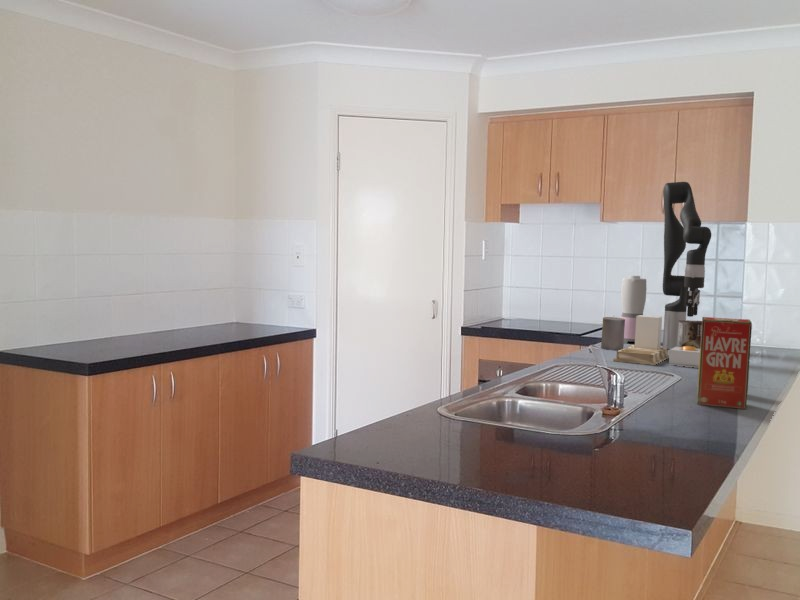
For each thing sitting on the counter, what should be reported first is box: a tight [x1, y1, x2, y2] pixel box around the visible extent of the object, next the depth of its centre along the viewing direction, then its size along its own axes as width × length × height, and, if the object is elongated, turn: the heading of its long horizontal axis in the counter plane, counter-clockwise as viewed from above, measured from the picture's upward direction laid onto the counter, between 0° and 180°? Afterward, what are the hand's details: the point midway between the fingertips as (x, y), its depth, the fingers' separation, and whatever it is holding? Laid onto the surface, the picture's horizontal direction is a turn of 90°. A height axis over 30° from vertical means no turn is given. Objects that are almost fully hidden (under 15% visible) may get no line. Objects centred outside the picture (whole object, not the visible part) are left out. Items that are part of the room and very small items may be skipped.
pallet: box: [613, 344, 669, 366], centre depth 306 cm, size 27×16×4 cm, turn 149°
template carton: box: [634, 314, 663, 350], centre depth 311 cm, size 6×9×16 cm, turn 59°
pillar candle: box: [600, 316, 625, 351], centre depth 335 cm, size 10×10×15 cm
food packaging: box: [696, 316, 753, 410], centre depth 219 cm, size 13×9×25 cm
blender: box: [620, 274, 647, 344], centre depth 361 cm, size 16×12×32 cm
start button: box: [682, 346, 696, 351], centre depth 294 cm, size 5×5×5 cm
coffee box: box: [677, 319, 702, 349], centre depth 307 cm, size 9×6×16 cm
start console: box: [668, 347, 700, 369], centre depth 294 cm, size 12×12×6 cm
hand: (692, 315), depth 306 cm, fingers open, 8 cm apart
